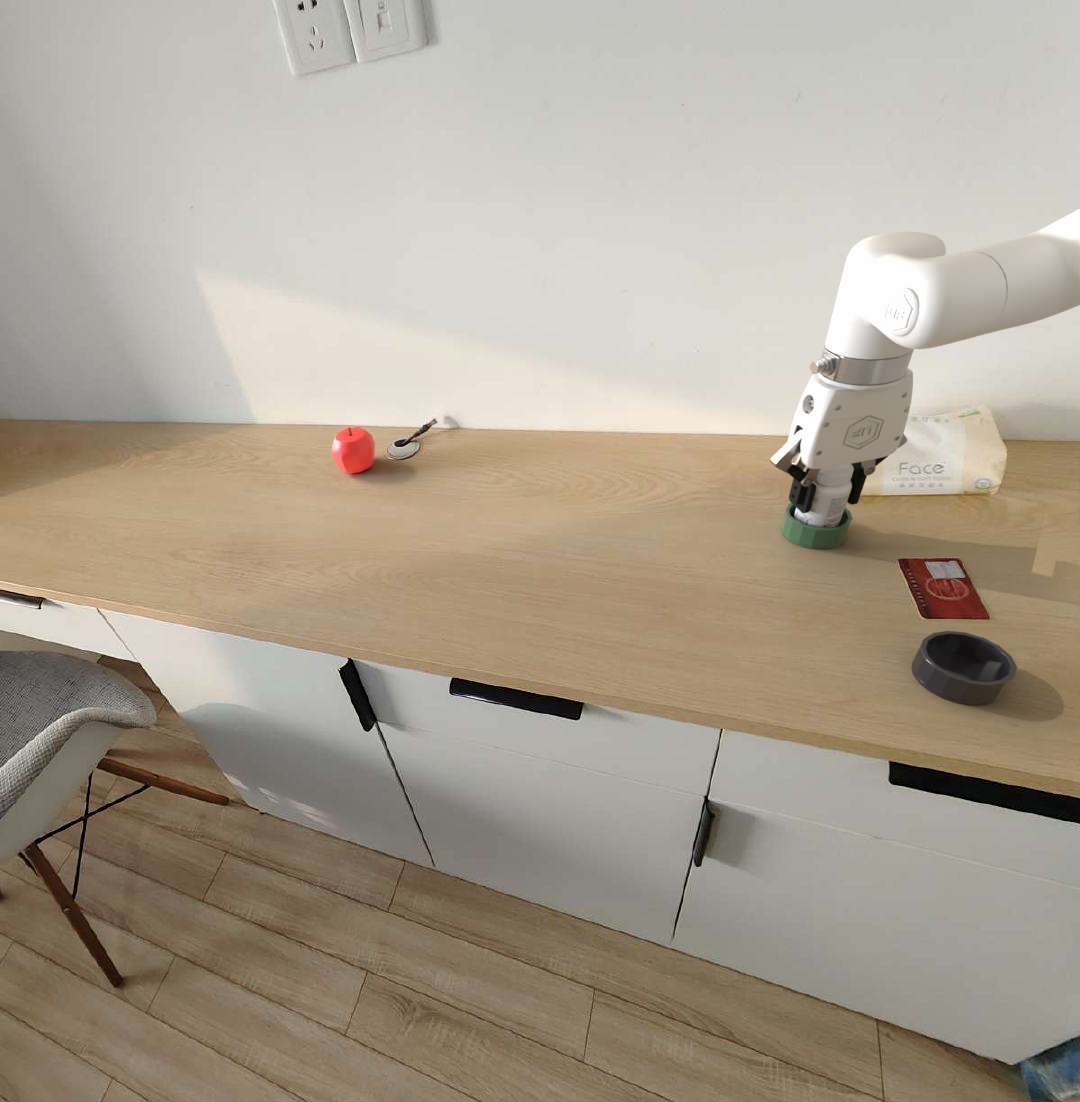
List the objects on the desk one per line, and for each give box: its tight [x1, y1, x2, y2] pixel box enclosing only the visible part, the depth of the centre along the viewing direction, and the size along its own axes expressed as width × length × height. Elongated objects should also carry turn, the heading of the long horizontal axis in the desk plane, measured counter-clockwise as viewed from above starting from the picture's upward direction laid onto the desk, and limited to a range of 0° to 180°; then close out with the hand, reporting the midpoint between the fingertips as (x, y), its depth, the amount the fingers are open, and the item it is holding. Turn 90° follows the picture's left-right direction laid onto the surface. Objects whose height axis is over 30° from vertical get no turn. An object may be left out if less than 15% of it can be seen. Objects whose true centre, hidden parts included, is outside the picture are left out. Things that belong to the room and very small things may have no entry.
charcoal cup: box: [911, 630, 1018, 706], centre depth 63 cm, size 7×7×3 cm
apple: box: [331, 426, 376, 475], centre depth 116 cm, size 8×8×8 cm
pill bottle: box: [794, 464, 854, 528], centre depth 80 cm, size 5×5×8 cm
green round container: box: [780, 502, 853, 550], centre depth 82 cm, size 7×7×3 cm
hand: (822, 501), depth 80 cm, fingers closed on pill bottle, 4 cm apart
